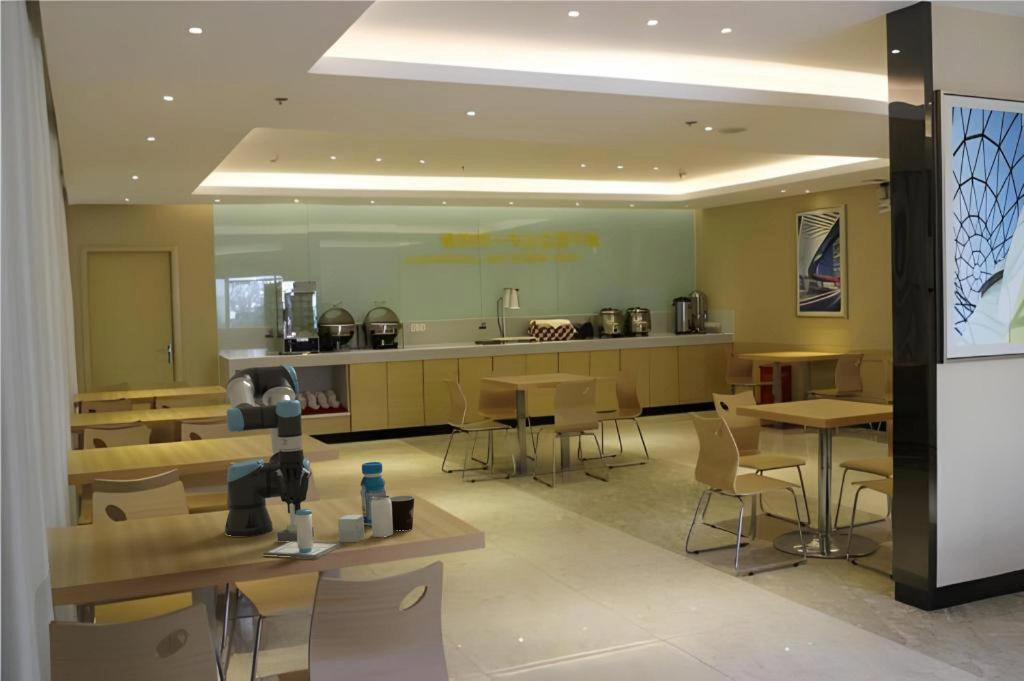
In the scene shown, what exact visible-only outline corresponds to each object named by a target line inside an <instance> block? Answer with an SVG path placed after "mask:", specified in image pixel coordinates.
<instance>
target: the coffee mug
mask: <svg viewBox="0 0 1024 681" xmlns="http://www.w3.org/2000/svg"><path fill="white" fill-rule="evenodd" d="M389 497H390V496H389ZM390 500H391V504H392V521H393V530H398V531H399V530H401V531H402V530H409V529H411V530H413V529H412V528H414V527H413V526H414V524H413V523H414V510H415V496H413V495H396V496H391V497H390ZM398 531H397V532H398ZM409 531H410V530H409ZM402 532H403V531H402Z"/></svg>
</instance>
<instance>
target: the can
mask: <svg viewBox="0 0 1024 681" xmlns="http://www.w3.org/2000/svg"><path fill="white" fill-rule="evenodd" d="M371 519H372V525H371V531H372V532H371V533H372V536H373V537H374V536H375V537H374V538H376V537H384V536H389V537H391V536H393V534H394V531H393V521H392V504H391V500H390V495H386V496H376V497H373V498H372V501H371ZM390 535H391V536H390ZM384 538H385V537H384Z"/></svg>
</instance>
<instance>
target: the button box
mask: <svg viewBox="0 0 1024 681" xmlns="http://www.w3.org/2000/svg"><path fill="white" fill-rule="evenodd" d="M314 532H315V531H314V526H312V535H313V536H314V537H315V534H314ZM276 536H277V542H278V541H297V532H287V527H286V528H284V529H282V530H280V531H278V532H276Z"/></svg>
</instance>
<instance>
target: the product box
mask: <svg viewBox="0 0 1024 681" xmlns="http://www.w3.org/2000/svg"><path fill="white" fill-rule="evenodd" d="M337 521H338V540H339V542H338V543H358V542H360V541H361V539H362V538H363V539H365V524H364V520H363V514H345V515H343V516H341V517H339V518H338V519H337ZM363 539H362V540H363Z"/></svg>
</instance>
